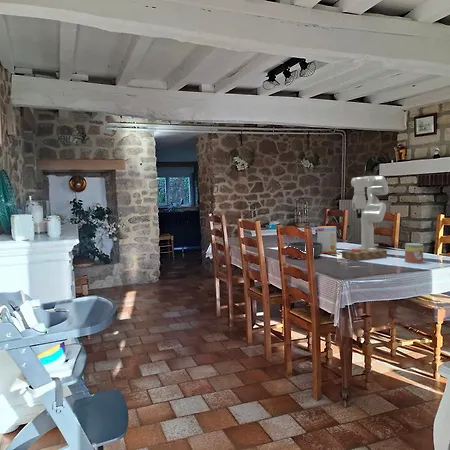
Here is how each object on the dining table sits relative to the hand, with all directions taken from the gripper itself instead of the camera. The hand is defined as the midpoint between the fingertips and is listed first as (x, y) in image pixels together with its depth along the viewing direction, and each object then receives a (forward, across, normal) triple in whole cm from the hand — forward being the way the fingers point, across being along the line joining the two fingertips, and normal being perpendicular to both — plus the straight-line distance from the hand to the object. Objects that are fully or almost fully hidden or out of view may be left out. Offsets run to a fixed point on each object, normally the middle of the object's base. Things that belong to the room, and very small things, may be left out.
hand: (359, 217), depth 317 cm
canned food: (+27, -8, +46) cm, 54 cm away
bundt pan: (+28, +44, -7) cm, 52 cm away
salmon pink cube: (+25, +17, +18) cm, 35 cm away
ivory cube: (+25, +3, +18) cm, 31 cm away
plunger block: (+27, +10, +18) cm, 34 cm away
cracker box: (+27, +21, -12) cm, 36 cm away
